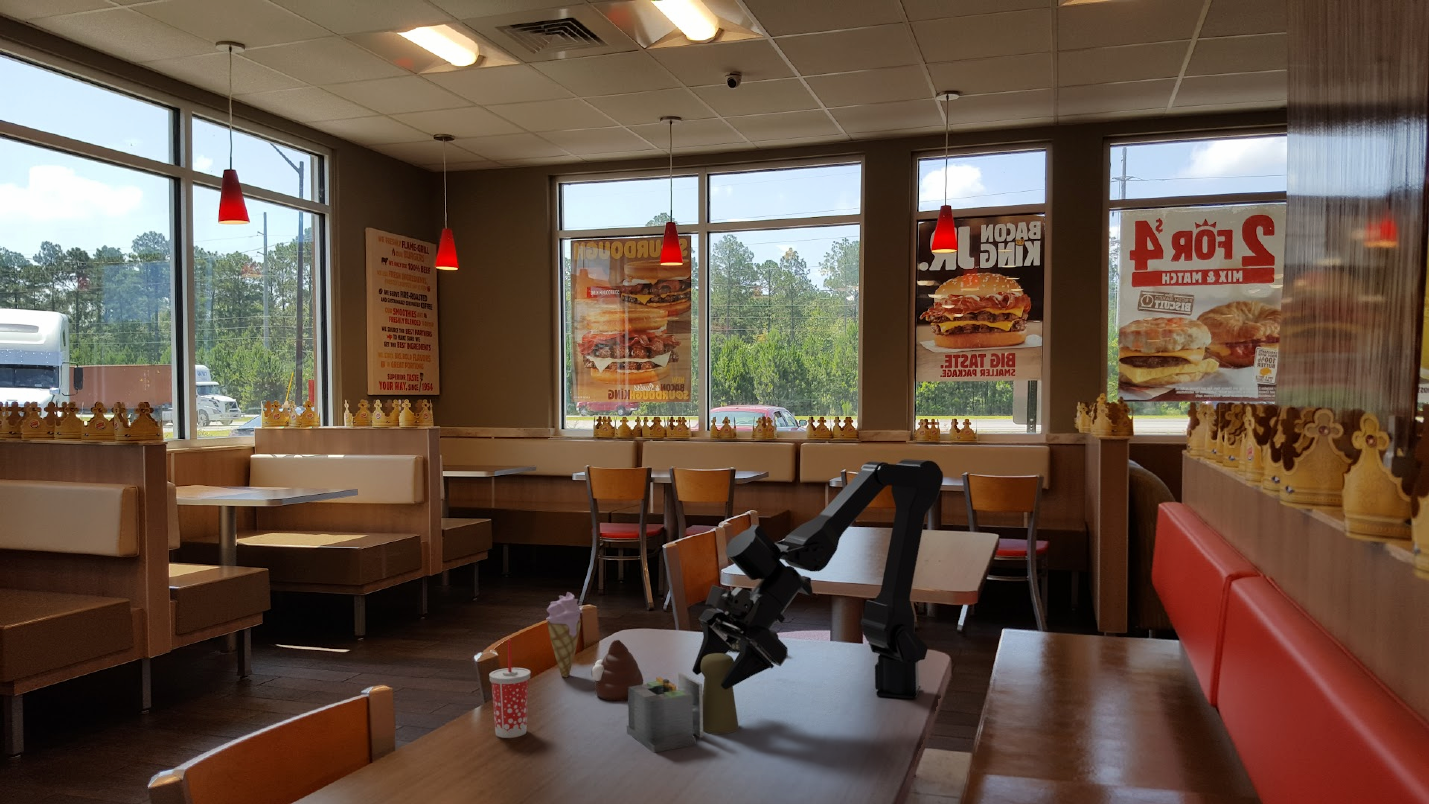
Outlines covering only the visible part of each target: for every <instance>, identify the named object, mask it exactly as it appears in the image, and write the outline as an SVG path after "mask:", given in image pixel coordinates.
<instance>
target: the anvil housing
mask: <svg viewBox="0 0 1429 804" xmlns="http://www.w3.org/2000/svg"><path fill="white" fill-rule="evenodd" d="M669 683H671V684H673V685H675V684H674V683H673V682H671V681H669ZM627 703H628V705H627V706H628V707H627V708H628V711H627V712H628V713H627V714H628V725H626V733H627V734H628V735H630V736H631V737H633V738H634V739H635V740H637V741H638V742H639V743H641V744H642V745H644V747H646V748H648V749H649V750H650V751H652V752H653V753H660V752H664V751H670V750H674V749H681V748H684V747H685V748H686V747H690V746H691V747H692V746H695V745H697V744H696V736H694V733H693V708H692V694H691V693H689V692H687V691H685V690H684V691H680V690H679V689H676V691H671V690H670V689H669V692H664V694H663V685H661V684H659V683H658V682H656V680H655V681H648V682H646V683H643V685H637V686H631V687H628V699H627Z"/></svg>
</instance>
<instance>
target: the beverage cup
mask: <svg viewBox="0 0 1429 804" xmlns="http://www.w3.org/2000/svg"><path fill="white" fill-rule="evenodd" d="M507 666H508V667H506V668H501V669H500V668H499V669H496V670H494V671H491V672H490V673H489V674H488V675H489V682H490V683H491V694H492V703H493V704H492V707H493V718H494V730H495V736H496V737H498V738H502V739H504V738H505V739H506V738H507V739H512V738H517V737H521V736H523V735H526V733H527V730H528V729H527V728H528V727H527V725H528V708H529V707H528V704H529V703H528V701H529V700H528V699H529V685H530V684H529V679H531V670H530V669H528V668H523V667H512V639H510V638H509V639H507Z"/></svg>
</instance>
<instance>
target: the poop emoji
mask: <svg viewBox="0 0 1429 804" xmlns="http://www.w3.org/2000/svg"><path fill="white" fill-rule="evenodd" d="M590 674H591V677H592V678H593V679H594V683H595V684H594V691H595V693H596V695H597V696H598V697H599V698H600V699H602V700H606V701H628V687H631V686H637V685H643V684H644V677H643V673H642V672H641V670H640V667H639V665H638V662H637V660H636V659H635V657H634V656H633V654H632V652H631V651H629V649H628V647H627V646H626V645H625V644H624V643H623V641H621V640H620V639H614V640H613V641H612V642H611V644H610V645H609V647H608V651H607V653H606V655H605V656H604V657H603V659H597V661H596V662H595V663H594V664H593V667H592V668H591V673H590Z"/></svg>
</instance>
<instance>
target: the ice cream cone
mask: <svg viewBox="0 0 1429 804" xmlns="http://www.w3.org/2000/svg"><path fill="white" fill-rule="evenodd" d="M558 598H559V599H558V600H556V601H550V605H549V606H548V607H547V608H546V611H547V612H548V614H549V616H548V617H546V618H545V619H546V621H547V622H546V623H547V627H548V634H549V638H550V642H551V645H552V649H553V653H554V656H555V660H556V663H557V666H558V669H559V670H558V671H559V673H560V676H561V677H563V678H567V677H569V676H570V675H571V674H570V673H571V671H572V670H571V669H572V667H573V662H574V659H575V658H574V657H575V654H576V650H577V646H578V642H579V636H580V629H581V623H582V619H581V614H582V613H583V614H584V610H583V611H582V609H581V608H580V607H579V604H578V601H579V599H578V598H575V595H574V594H573V593H572V592H569V591H567V592H566V595H565V596H564V595H558Z"/></svg>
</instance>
